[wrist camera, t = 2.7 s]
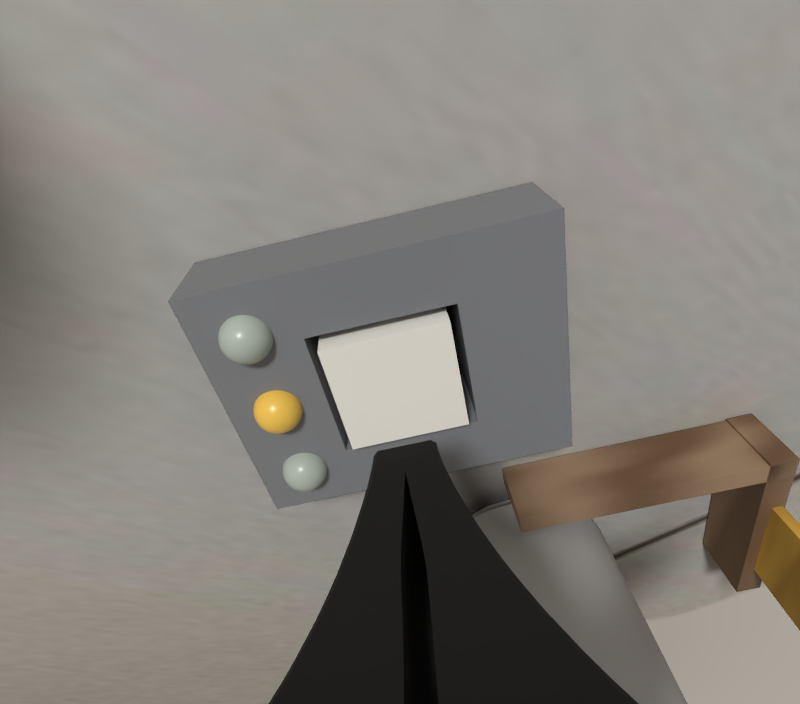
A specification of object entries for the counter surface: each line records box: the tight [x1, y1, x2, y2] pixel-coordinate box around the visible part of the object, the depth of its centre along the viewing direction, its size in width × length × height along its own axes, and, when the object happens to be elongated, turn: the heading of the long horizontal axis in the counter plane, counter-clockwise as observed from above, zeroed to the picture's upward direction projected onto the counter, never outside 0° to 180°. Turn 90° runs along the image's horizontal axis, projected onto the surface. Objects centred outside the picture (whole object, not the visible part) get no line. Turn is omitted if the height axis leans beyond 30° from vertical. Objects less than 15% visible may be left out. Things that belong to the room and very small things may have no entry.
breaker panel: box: [168, 182, 572, 509], centre depth 15 cm, size 10×8×3 cm
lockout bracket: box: [502, 414, 800, 630], centre depth 20 cm, size 10×8×6 cm
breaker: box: [317, 307, 469, 449], centre depth 15 cm, size 4×4×2 cm
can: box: [472, 499, 687, 704], centre depth 18 cm, size 8×8×12 cm
